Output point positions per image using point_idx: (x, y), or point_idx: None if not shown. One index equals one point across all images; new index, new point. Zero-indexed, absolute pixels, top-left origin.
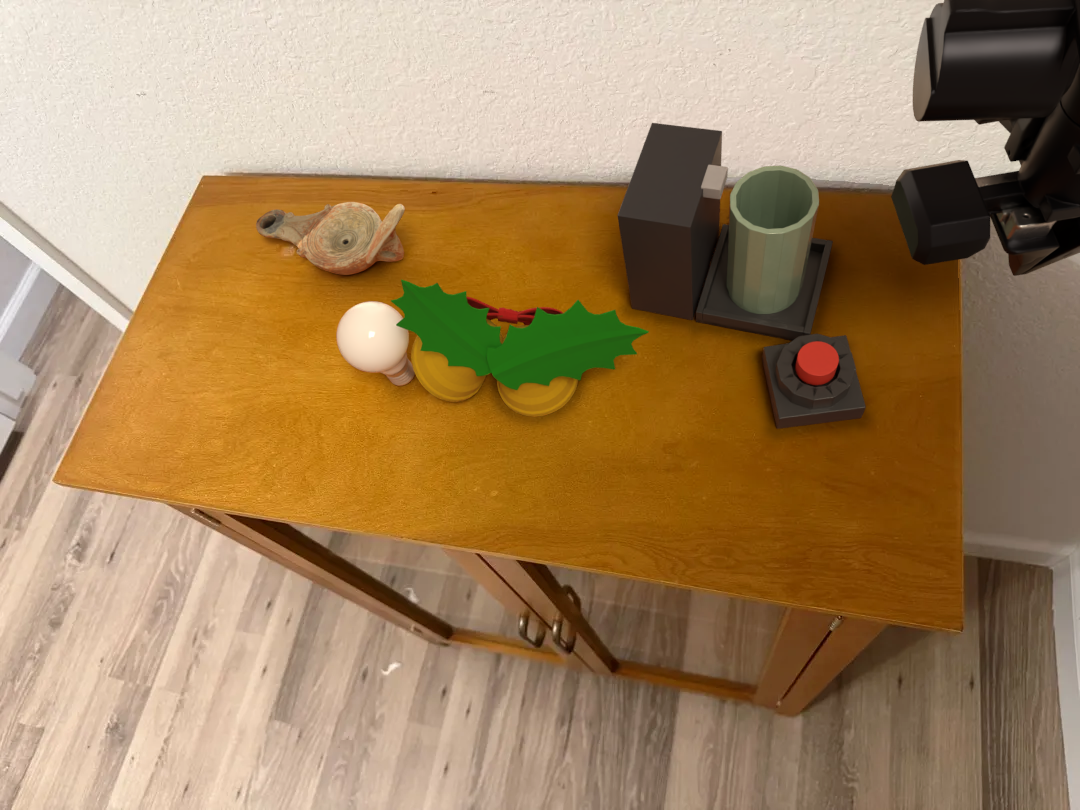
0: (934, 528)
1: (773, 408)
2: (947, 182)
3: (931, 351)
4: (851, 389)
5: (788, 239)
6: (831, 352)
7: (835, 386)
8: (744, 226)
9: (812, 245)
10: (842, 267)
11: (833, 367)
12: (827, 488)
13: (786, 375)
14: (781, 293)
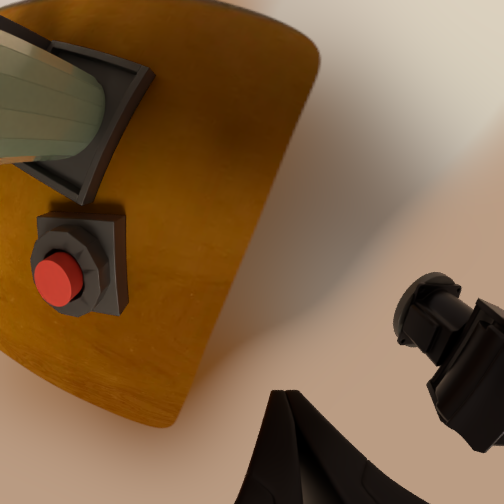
0: (172, 394)
1: None
2: None
3: (221, 245)
4: (107, 293)
5: None
6: (64, 281)
7: (78, 306)
8: None
9: (127, 69)
10: (161, 99)
11: (65, 301)
12: (96, 350)
13: None
14: (45, 158)
